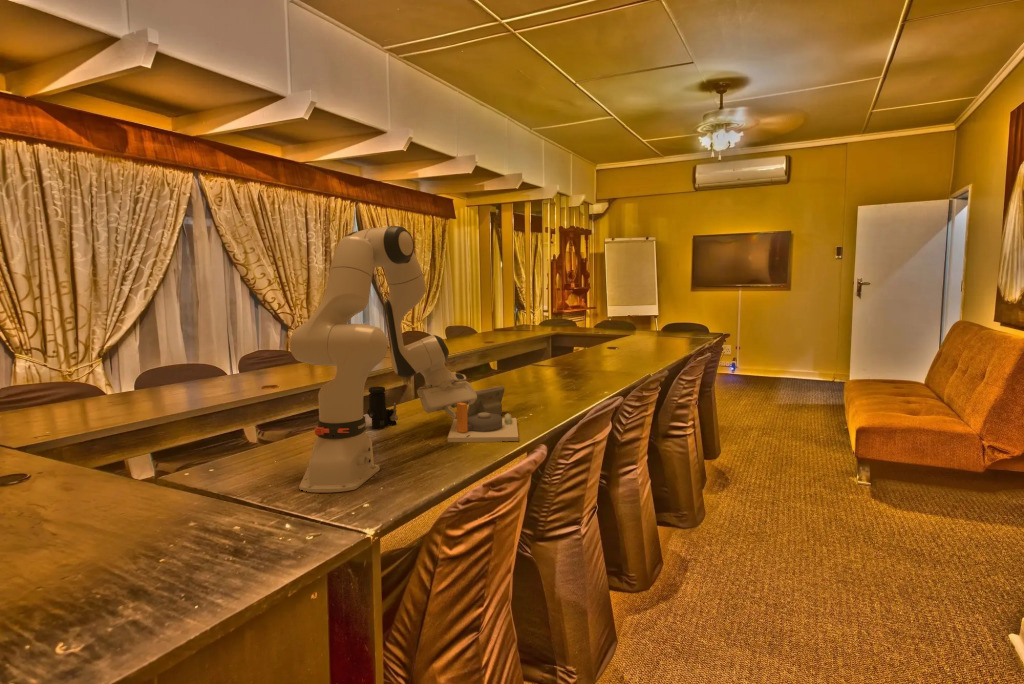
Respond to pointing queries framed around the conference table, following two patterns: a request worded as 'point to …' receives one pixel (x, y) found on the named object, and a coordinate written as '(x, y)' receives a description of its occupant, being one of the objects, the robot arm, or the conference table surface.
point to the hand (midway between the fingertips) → (459, 417)
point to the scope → (380, 409)
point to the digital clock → (487, 401)
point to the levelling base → (487, 432)
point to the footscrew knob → (476, 420)
